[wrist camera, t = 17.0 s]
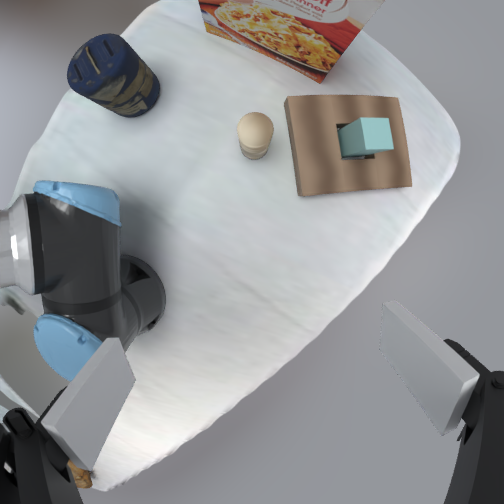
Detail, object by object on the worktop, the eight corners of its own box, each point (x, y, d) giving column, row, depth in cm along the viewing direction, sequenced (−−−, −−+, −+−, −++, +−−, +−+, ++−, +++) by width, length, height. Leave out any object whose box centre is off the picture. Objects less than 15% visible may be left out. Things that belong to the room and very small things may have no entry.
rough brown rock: (89, 478, 69) (82, 503, 55) (55, 459, 65) (46, 483, 51) (104, 466, 66) (96, 495, 52) (65, 444, 62) (53, 472, 48)
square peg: (337, 157, 44) (365, 149, 32) (333, 133, 42) (360, 117, 31) (360, 156, 43) (393, 149, 32) (356, 132, 42) (388, 118, 31)
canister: (119, 127, 41) (61, 104, 24) (110, 85, 39) (58, 51, 22) (167, 106, 41) (126, 67, 23) (156, 64, 39) (117, 16, 21)
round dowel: (244, 162, 43) (242, 150, 32) (237, 137, 43) (232, 117, 31) (271, 155, 43) (278, 140, 31) (263, 131, 42) (267, 108, 31)
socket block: (297, 195, 45) (302, 196, 41) (284, 103, 41) (287, 96, 37) (400, 186, 45) (412, 186, 41) (387, 103, 41) (398, 97, 37)
